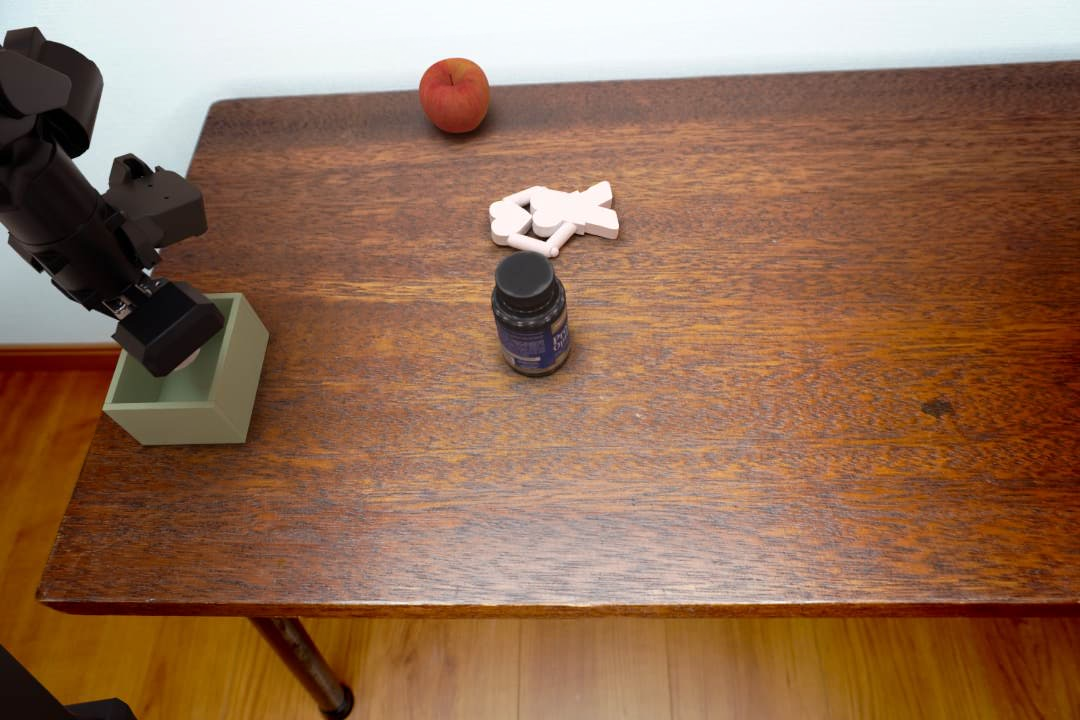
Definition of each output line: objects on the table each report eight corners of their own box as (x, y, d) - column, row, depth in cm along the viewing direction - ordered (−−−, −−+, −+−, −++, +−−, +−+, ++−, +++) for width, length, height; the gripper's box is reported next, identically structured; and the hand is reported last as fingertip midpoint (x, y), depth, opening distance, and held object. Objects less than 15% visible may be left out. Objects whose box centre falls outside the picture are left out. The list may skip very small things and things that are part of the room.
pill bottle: (571, 377, 71) (563, 304, 62) (501, 379, 71) (483, 307, 62) (570, 318, 74) (563, 240, 65) (503, 321, 75) (487, 244, 65)
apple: (486, 93, 91) (475, 32, 84) (502, 138, 87) (492, 77, 80) (421, 110, 90) (405, 49, 83) (435, 155, 86) (419, 95, 79)
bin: (245, 443, 70) (212, 407, 65) (142, 445, 71) (101, 410, 65) (269, 333, 76) (241, 292, 70) (174, 336, 77) (139, 295, 71)
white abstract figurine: (486, 195, 82) (486, 180, 80) (604, 187, 83) (606, 172, 81) (494, 264, 77) (494, 250, 76) (619, 254, 78) (622, 240, 77)
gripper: (237, 198, 53) (314, 332, 66) (80, 87, 60) (178, 228, 73) (93, 312, 49) (206, 430, 62) (-57, 178, 56) (73, 310, 69)
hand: (166, 341), depth 67 cm, fingers closed on rook chess piece, 4 cm apart
